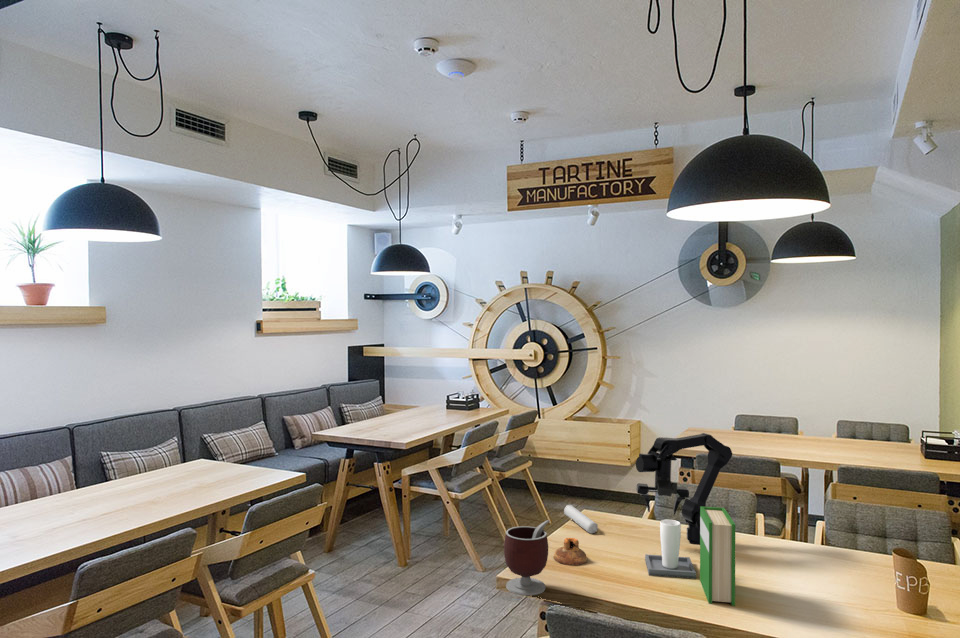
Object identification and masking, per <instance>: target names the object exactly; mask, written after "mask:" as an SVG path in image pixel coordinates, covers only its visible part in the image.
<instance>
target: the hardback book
mask: <svg viewBox="0 0 960 638" xmlns="http://www.w3.org/2000/svg"><path fill="white" fill-rule="evenodd" d="M699 582H700V585H701V587H702V590H703V592H704V595H705V597H706V600H707V603H708V604H709V605H712V604H713V602H720V603H730V605H731V606H732V607H735V606H736V523H735V521H734V520H733V519H732V517H731V515H730V514H729V512H728V511H727V510H726V509H725V507H717V506H716V507H714V506H706V507H702V506H700V544H699Z"/></svg>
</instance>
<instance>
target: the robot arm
mask: <svg viewBox="0 0 960 638" xmlns="http://www.w3.org/2000/svg"><path fill="white" fill-rule="evenodd" d="M702 446H703V447H704V449H706V450H707V451H708V453H707V464H706V468H705V470H704V472H703V474H702V476H701V479H700V481H699V483H698V486H697V487H696V490H695V492H694V494H693V496H692V497H691V498H690V491H689V489H688V488H687V487H686V486H678V483H677V482H672V478H671V477H672V461H677V458H676V456H674V454H676V453H678V452H680V450H684V449H691V448H695V447H696V448H697V447H702ZM732 456H733V452H732V449H731V447H729V446H727V445H725V444H724V443H722V442H721V441H719V440H717V439H716V438H715V437H714V436H712V434H709V433H705V432H702V433H699V434H694V435H687V436H682V437H676V438H675V437H674V438H673V437H661V436H660V437H657V438H656V439H655V441H654V443H653V444H652V446H651V448H650V449H649V451H648V452H647V453H639V454H638V456H637V458H636V459H635V468H636V471H637V472H638V473H654V486H649V485H648V484H647V483H637V484H636V493H637V494H639V495H640V496H641V497H643V498H644V500H645V504H646V508H647V512H648V513H651V506H650V495H649V493H657V495H659V496H661V497H662V496H666V497H672V494H673V495H674V502H673V515H674V516H675V515H676V513H677V511H678V507H679V506H680V503H681V502H682V501H683V500H684V503H683V505H682V506H681V514H682V515H681V516H682V517H683V518H684V521H685V523H686V524H688V525H687V527H686V539H687V541H688V542H689V544H693V543H694V545H696V544H697V545H700V506H702V507H707V506H706V505H707V504H706V503H707V501H708V499H709V497H710V494H711V491H712V490H713V487H714V485H715V483H716V481H717V478H718V476H719V473H720V472H721V469H723V468H724V467H725V466H727V464H728V463H729V462H730V460H731V459H732V458H733V457H732Z"/></svg>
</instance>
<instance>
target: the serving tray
mask: <svg viewBox="0 0 960 638" xmlns="http://www.w3.org/2000/svg"><path fill="white" fill-rule="evenodd" d="M644 561H645V565H646V569H647V574H648V576H654V577H668V578H679V579H680V578H681V579H692V580H696V579H697V571H696V569H695V567H694V564H693V562H692V560H691V558H690V557H689V556H679V560H678V567H677V568H675V569H669V568H665V567H664V566H663V565H662V554H661V555H659V554H648V553H645V555H644Z"/></svg>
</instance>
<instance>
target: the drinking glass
mask: <svg viewBox="0 0 960 638" xmlns="http://www.w3.org/2000/svg"><path fill="white" fill-rule="evenodd" d="M681 527H682V526H681V522H680V521H678V520H675V519H662V520H660V522H659V537H660V538H659V539H660V549H661V555H662V565H663V566H664V567H665V568H669V569H675V568H677V567H678V560H679V557H680V546H681V538H682V537H681V536H682V535H681V534H682V532H681V531H682V528H681Z"/></svg>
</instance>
